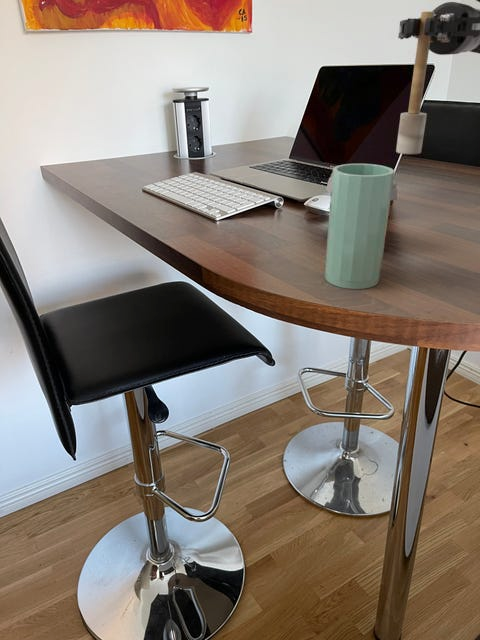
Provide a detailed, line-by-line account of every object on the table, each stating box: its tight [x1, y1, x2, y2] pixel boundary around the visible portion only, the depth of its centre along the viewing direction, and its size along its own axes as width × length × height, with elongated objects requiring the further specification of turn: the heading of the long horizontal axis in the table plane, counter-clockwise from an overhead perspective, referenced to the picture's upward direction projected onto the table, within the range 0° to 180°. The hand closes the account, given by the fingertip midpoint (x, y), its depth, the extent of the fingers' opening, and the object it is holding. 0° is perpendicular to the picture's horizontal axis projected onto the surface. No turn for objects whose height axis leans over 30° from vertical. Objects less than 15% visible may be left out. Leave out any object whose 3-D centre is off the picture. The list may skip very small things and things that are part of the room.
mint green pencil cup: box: [324, 163, 395, 290], centre depth 62 cm, size 7×7×14 cm
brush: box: [395, 10, 434, 155], centre depth 78 cm, size 4×4×20 cm
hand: (419, 26), depth 73 cm, fingers closed on brush, 2 cm apart
